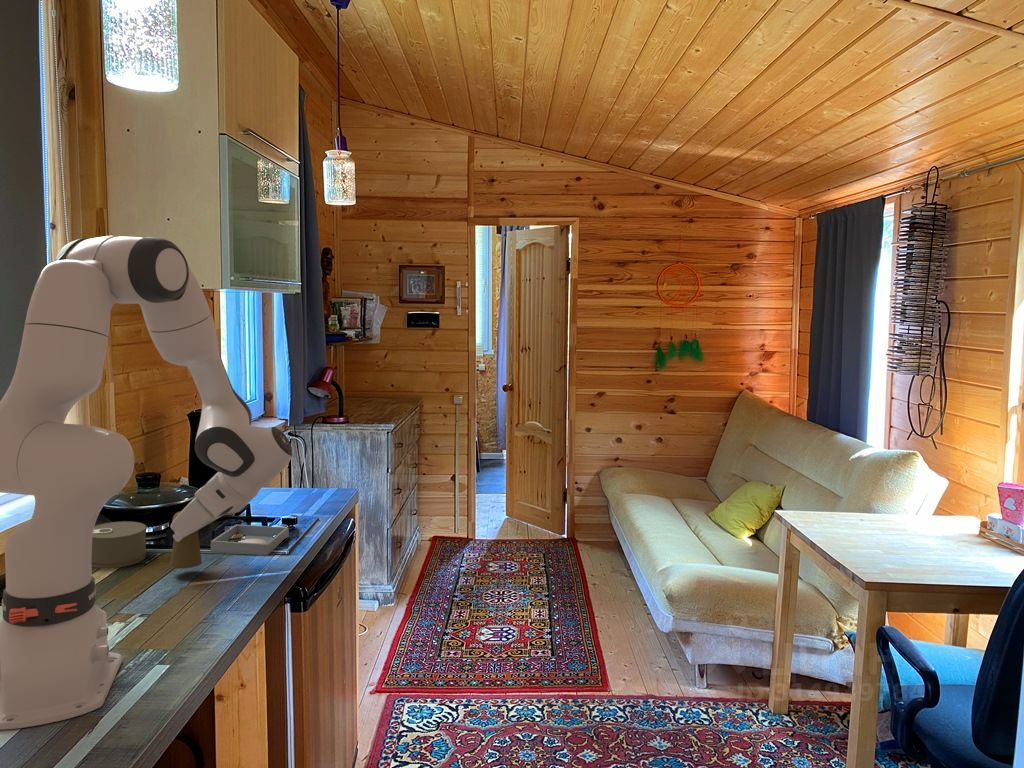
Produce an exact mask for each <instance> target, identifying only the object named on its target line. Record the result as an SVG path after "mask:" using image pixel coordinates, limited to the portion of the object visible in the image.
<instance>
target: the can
mask: <svg viewBox="0 0 1024 768" xmlns="http://www.w3.org/2000/svg"><path fill="white" fill-rule="evenodd" d="M146 533H147V525H146V524H145V523H142V522H140V521H131V520H129V521H127V520H122V521H112V522H105V523H100V524H95V526H94V530H93V536H92V568H95V569H96V568H97V569H119V568H124V567H127V566H128V567H129V566H132V565H135V564H138V563H140V562H142V561H143V560H145V559H146V558H147V557H146V555H147V554H146V551H147V548H146V545H147V541H146V540H147V539H146V537H147V536H146V535H147V534H146Z"/></svg>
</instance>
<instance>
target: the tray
mask: <svg viewBox="0 0 1024 768" xmlns="http://www.w3.org/2000/svg"><path fill="white" fill-rule="evenodd" d="M289 531H290V529H289V527H287V526H286V527H285V526H284V527H283V526H271V525H270V526H268V525H251V524H236V523H235V524H234V525H233V526H231V527H230V528H228V529H227V530H225V531H224V532H222V533H221V534H219V535H218V536H216V537H215V538H213V539H212V540H210V552H211V553H222V554H223V553H224V554H225V553H227V554H239V555H241V554H242V555H243V554H244V555H257V556H268V555H270V553H272V552H273V551H274V550H275V549H277V548H276V547H277V546H278V545H279V544H280V543H281V542H282V541H283V540H284V539H285V538H287V537H288V538H289V535H290V534H289ZM236 533H241V534H244V535H246V536H245V539H263V540H265V541H266V542H267V543H266V544H261V543H245V542H229V541H228V540H229V539H230V538H231V537H232V536H233V535H234V534H236ZM274 535H276V536H275V537H274V538H272V537H273V536H274ZM288 538H287V539H288ZM282 543H283V542H282ZM282 543H281V544H282ZM281 544H280V545H281ZM280 545H279V546H280ZM279 546H278V547H279ZM273 549H274V550H273Z"/></svg>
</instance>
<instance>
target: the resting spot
mask: <svg viewBox="0 0 1024 768" xmlns="http://www.w3.org/2000/svg"><path fill="white" fill-rule="evenodd" d="M238 542H245V543H261V544H266V543H267V542H266V541H265V540H263V539H245V540H241V541H238Z"/></svg>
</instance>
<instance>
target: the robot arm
mask: <svg viewBox="0 0 1024 768" xmlns="http://www.w3.org/2000/svg"><path fill="white" fill-rule="evenodd" d="M115 304H120V305H132V304H135V305H136V304H138V305H139V306H140V310H141V312H142V315H143V319H144V323H145V325H146V328H147V330H148V333H149V336H150V338H151V341H152V342H153V345H154V347H155V348H156V350H157V352H158V353H159V355H160V356H161V358H162V359H163V360H164V361H165V362H167V363H169V364H171V365H176V366H179V367H180V366H181V367H187V370H188V371H189V372H190V375H191V376H192V379H193V381H194V384H195V386H196V389H197V391H198V394H199V396H200V398H201V402H202V403H201V410H200V416H199V417H200V418H199V424H198V428H197V432H196V437H195V442H194V452H195V454H196V457H197V458H198V459H199V460H200V462H202V463H203V464H204V465H206V466H207V467H210V468H211V469H213V470H215V471H217V472H216V473H215V474H214V475H213V476H212V477H211V478H210V479H209V480H208V481H207V482H206V483H205V484H204V485H202V486H201V487H200V488H199V489H198V490H196V491H195V493H194V496H195V497H194V498H193V499H192V500H191V501H189V503H188V504H187V505H186V506H185V507H184V508H183V509H182V510H181V512H180V511H179V512H180V514H179V515H178V516H177V517H176V518H175V519H174V520H173V522H171V524H170V528H171V530H172V531H173V532H174V534H172V539H173V540H174V539H175V540H176V541H177V542H179V541H181V540H182V539H183V538H185V537H186V536H188V535H190V534H191V533H193V532H195V531H199V530H201V529H202V528H204V527H205V526H207V525H209V524H211V523H213V522H214V521H216V520H218V519H219V518H222V517H223V516H225V515H227V514H232V513H235V514H237V513H240V512H241V511H242V510H243V509H244V508H245V507H246V506H247V505H248V504H249V503H250V502H252V500H253V499H254V498H256V496H258V495H259V493H260V491H261V489H263V488H264V487H265V486H267V485H269V484H271V483H272V482H273V480H275V479H276V478H277V477H278V476H279V474H281V473H282V471H283V470H285V468H286V467H287V465H289V463H290V462H291V460H292V458H293V447H292V443H291V442H290V440H289V438H288V437H287V436H286V434H285V433H284V432H283V431H282V430H281V429H279V428H278V427H276V426H269V427H264V426H263V427H262V426H255V425H252V421H253V418H252V417H253V415H252V411H251V409H250V407H249V405H248V404H247V403H246V402H245V400H244V399H243V398H242V397H241V396H240V395H239V394H238V393H237V392H236V390H235V388H234V387H233V386H232V382H231V380H230V378H229V375H228V373H227V370H226V368H225V364H224V362H223V360H222V356H221V355H220V350H219V344H218V343H219V342H218V335H217V330H216V326H215V325H216V324H215V322H214V318H213V315H212V312H211V309H210V305H209V303H208V301H207V298H206V297H205V293H204V291H203V289H202V287H201V285H200V283H199V281H198V278H196V276H195V274H194V272H193V271H192V269H191V267H189V264H188V261H187V259H186V257H185V255H184V254H183V251H182V250H181V249H180V247H178V246H177V245H176V244H175V243H174V242H172V241H170V240H168V239H165V238H162V237H161V238H160V237H156V236H145V237H141V236H125V235H105V236H99V237H93V238H92V237H82V238H79V239H76V240H72V241H70V242H68V243H67V244H65V245H64V246H63V247H61V249H60V250H59V252H58V253H57V254H56V257H55V259H54V261H52V262H50V263H48V264H47V265H46V266H45V267H44V268H43V269H42V270H41V271H40V274H39V276H38V278H37V280H36V283H35V286H34V289H33V291H32V294H31V297H30V301H29V304H28V308H27V312H26V317H25V321H24V327H23V333H22V338H21V344H20V347H19V348H20V349H19V353H18V357H17V362H16V367H15V370H14V374H13V376H12V379H11V382H10V384H9V386H8V388H7V390H6V392H5V393H4V395H3V396H2V398H1V400H0V493H1V494H2V493H3V494H13V495H25V496H33V497H34V503H35V505H34V510H33V513H32V517H31V519H30V520H28V521H26V522H24V523H22V524H21V525H19V526H18V527H16V528H15V529H14V530H12V532H11V533H10V534H9V536H8V537H7V538H6V541H5V543H4V563H5V567H4V568H5V588H4V589H3V590H2V599H1V608H2V619H1V620H0V730H12V729H13V730H14V729H23V728H30V727H36V726H42V725H46V724H50V723H54V722H55V723H57V722H59V721H64V720H68V719H71V718H72V719H73V718H75V717H78V716H82V715H84V714H88V713H89V712H90V713H91V712H92V711H95V710H97V709H100V708H101V707H102V706H103V705H104V703H105V700H106V698H107V697H108V694H109V692H110V690H111V688H112V685H113V683H114V681H115V678H116V676H117V674H118V671H119V668H120V667H121V664H122V661H123V659H122V658H123V657H122V654H120V653H117V652H111V651H110V647H109V644H108V635H109V627H108V623H107V622H108V621H107V612H106V611H105V610H103V609H102V608H101V607H99V606H98V605H97V604H95V603H96V597H97V596H96V593H97V586H96V581H95V580H96V579H95V577H94V576H93V574H92V568H93V567H92V536H93V530H94V526H96V522H97V520H98V516H99V515H100V512H101V511H102V510H103V507H105V505H106V504H107V503H108V501H109V500H110V499H112V498H113V497H114V496H116V495H117V494H119V492H121V491H122V490H123V488H125V487H126V486H127V484H128V483H129V481H130V479H131V478H132V476H133V472H134V468H135V453H134V450H133V447H132V445H131V443H130V442H129V440H128V438H126V437H125V435H123V434H122V433H119V432H115V431H112V430H109V429H106V428H102V427H99V426H95V425H92V424H91V425H89V424H76V423H65V421H66V418H67V417H68V415H69V413H70V411H71V410H72V408H73V407H74V405H76V404H77V403H78V402H79V401H81V400H82V399H83V398H85V397H88V396H90V395H92V394H93V393H95V392H96V390H98V388H99V386H100V385H101V383H102V379H103V373H104V367H105V366H104V365H105V361H106V352H107V347H108V339H109V333H110V327H111V326H110V324H111V323H110V322H111V310H112V308H113V307H114V305H115Z"/></svg>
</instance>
